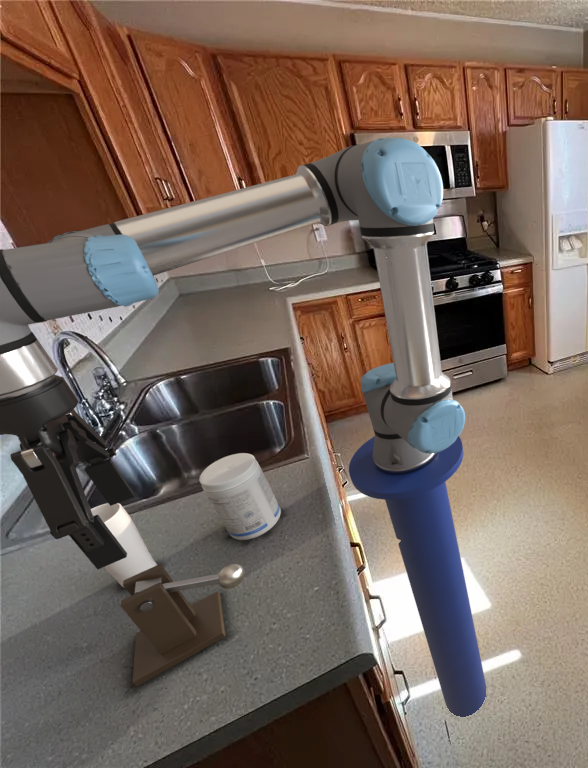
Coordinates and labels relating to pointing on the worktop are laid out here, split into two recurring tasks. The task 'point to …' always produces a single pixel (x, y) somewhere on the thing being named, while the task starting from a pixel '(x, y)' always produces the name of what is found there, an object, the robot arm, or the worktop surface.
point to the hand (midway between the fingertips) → (118, 528)
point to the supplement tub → (241, 496)
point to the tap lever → (200, 580)
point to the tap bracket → (168, 624)
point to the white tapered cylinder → (125, 542)
